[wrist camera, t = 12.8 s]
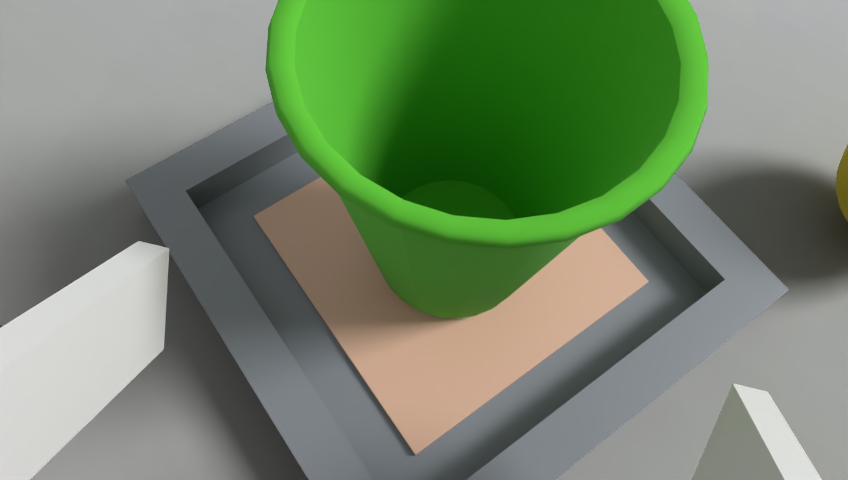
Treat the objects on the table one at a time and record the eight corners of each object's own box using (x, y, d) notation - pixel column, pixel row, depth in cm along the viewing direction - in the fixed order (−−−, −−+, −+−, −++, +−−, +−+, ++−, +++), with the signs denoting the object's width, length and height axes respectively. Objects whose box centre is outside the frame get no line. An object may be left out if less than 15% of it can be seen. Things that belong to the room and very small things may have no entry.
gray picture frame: (486, 19, 29) (492, -16, 27) (759, 308, 24) (789, 290, 22) (145, 207, 25) (125, 180, 23) (390, 605, 20) (390, 613, 18)
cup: (612, 198, 25) (760, -35, 15) (521, 426, 21) (632, 327, 11) (393, 106, 26) (390, -165, 16) (273, 307, 22) (172, 122, 12)
